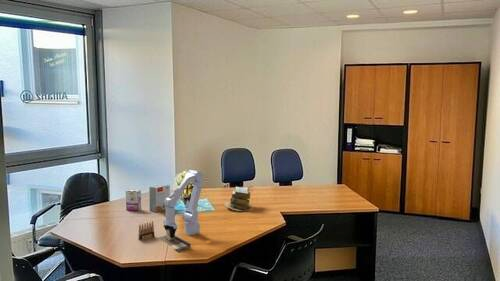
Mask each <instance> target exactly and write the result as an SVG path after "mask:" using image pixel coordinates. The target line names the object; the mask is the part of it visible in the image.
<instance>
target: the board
mask: <svg viewBox="0 0 500 281" xmlns="http://www.w3.org/2000/svg"><path fill="white" fill-rule="evenodd" d="M157 239H158V240H160V241H162V242H164V243H165V244H167V245H169V246H170V247H172V248H174V249H173V251H175V252H176V253H179V252H183V251H186V250H191V248H192V246H191V243H190V242H188V241H186V240H184V239H182V238H180V237H179V236H176V235H175V239H173V240H168V239H166V235H164V236H159V237H157Z"/></svg>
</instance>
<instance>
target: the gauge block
mask: <svg viewBox="0 0 500 281" xmlns="http://www.w3.org/2000/svg"><path fill="white" fill-rule="evenodd" d="M165 234H166V235H165V236H166V239H168V240H173V239H175V236H176V234H175V235H174V238H171V237H170V231H169V229H167V230H165Z"/></svg>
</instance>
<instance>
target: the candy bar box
mask: <svg viewBox="0 0 500 281" xmlns="http://www.w3.org/2000/svg"><path fill="white" fill-rule="evenodd" d="M125 202H126V203H125V204H126V205H125V206H126V211H130V210H132V211H131V212H133V211H134V212H139V211H141V210H142V191H141V189H127V190H125Z"/></svg>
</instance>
